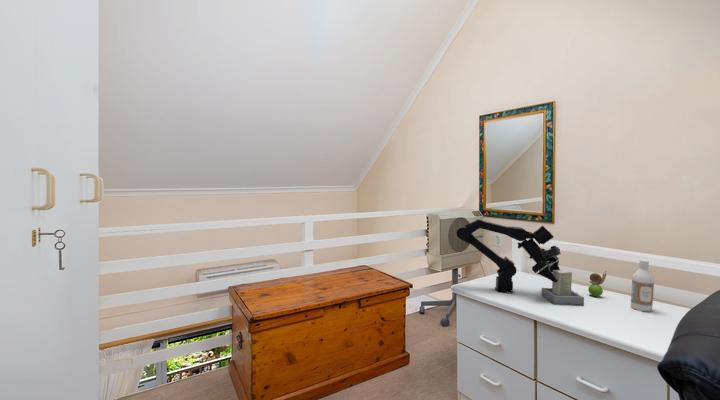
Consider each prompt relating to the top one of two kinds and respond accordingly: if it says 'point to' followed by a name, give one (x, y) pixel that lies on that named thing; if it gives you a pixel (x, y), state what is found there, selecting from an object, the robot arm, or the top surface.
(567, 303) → the box
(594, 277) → the snail figurine
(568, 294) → the skincare box
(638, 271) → the bath foam
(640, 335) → the top surface
